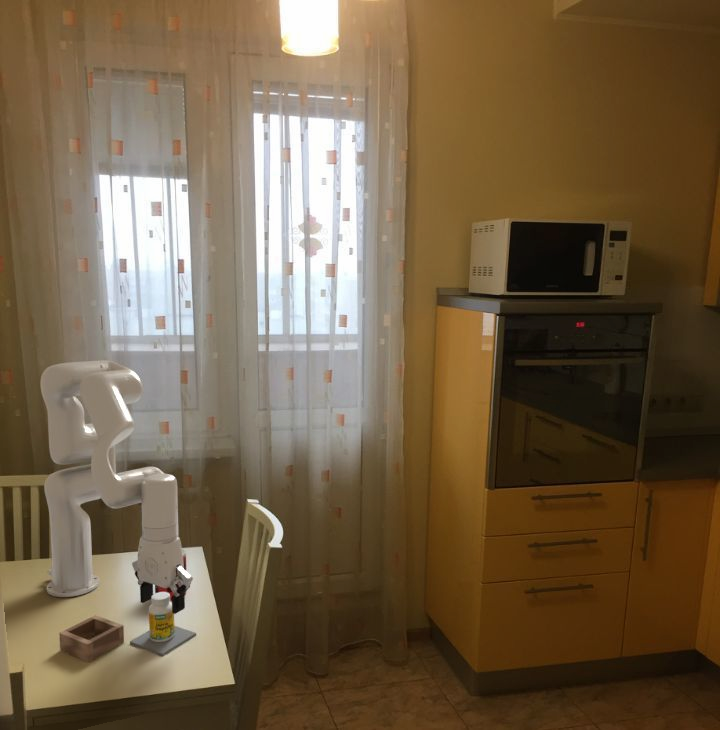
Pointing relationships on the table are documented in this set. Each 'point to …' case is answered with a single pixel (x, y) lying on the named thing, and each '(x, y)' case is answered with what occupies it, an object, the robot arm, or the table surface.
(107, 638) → the sleeve holder
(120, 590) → the table surface
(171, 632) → the supplement bottle
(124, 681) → the table surface
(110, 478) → the robot arm
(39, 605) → the table surface
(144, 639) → the rubber mat
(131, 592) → the table surface
